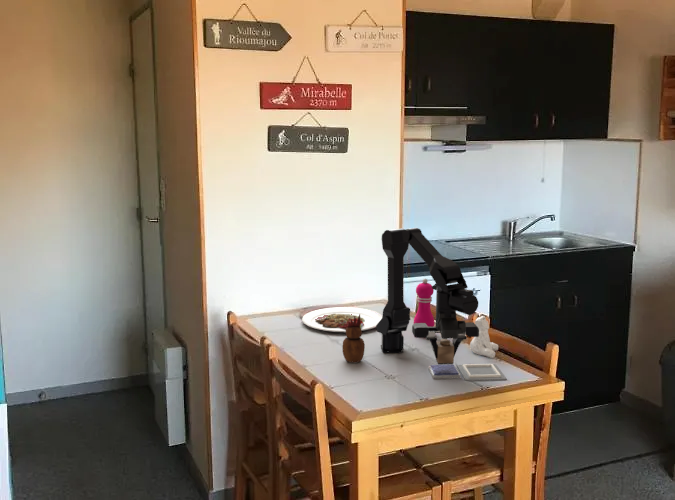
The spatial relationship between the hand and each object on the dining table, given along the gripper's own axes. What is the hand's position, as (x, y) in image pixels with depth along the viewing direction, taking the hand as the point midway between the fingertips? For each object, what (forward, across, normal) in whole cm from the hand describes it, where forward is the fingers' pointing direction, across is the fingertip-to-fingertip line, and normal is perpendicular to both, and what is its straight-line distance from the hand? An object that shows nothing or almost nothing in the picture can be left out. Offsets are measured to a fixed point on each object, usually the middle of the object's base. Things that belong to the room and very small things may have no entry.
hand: (444, 357), depth 211 cm
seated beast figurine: (+5, +16, +18) cm, 25 cm away
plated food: (+6, -27, +53) cm, 60 cm away
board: (+5, +11, 0) cm, 12 cm away
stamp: (+1, 0, 0) cm, 1 cm away
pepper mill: (+5, 0, +37) cm, 37 cm away
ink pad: (+5, 0, 0) cm, 5 cm away
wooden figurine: (+5, -26, +12) cm, 29 cm away
